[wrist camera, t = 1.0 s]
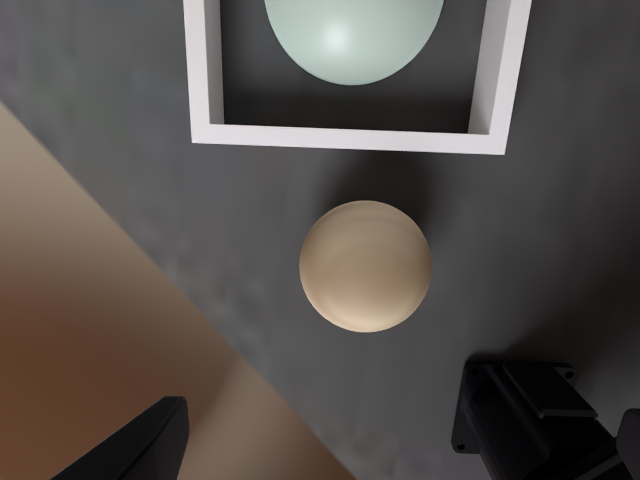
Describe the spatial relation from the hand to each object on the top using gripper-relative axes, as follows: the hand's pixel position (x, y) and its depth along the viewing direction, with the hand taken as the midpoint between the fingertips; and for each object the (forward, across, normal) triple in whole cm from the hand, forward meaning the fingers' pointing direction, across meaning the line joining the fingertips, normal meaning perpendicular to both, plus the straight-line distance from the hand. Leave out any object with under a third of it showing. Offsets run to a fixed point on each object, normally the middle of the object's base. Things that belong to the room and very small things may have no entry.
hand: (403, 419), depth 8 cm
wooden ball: (+13, 0, 0) cm, 13 cm away
